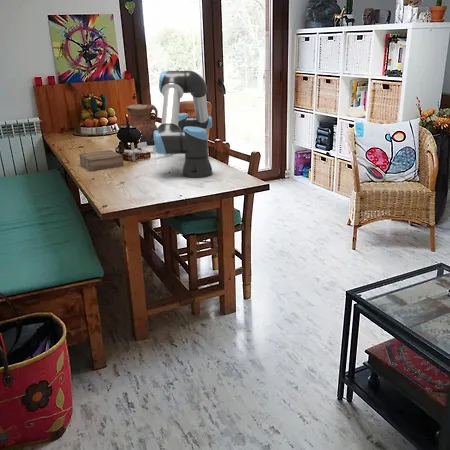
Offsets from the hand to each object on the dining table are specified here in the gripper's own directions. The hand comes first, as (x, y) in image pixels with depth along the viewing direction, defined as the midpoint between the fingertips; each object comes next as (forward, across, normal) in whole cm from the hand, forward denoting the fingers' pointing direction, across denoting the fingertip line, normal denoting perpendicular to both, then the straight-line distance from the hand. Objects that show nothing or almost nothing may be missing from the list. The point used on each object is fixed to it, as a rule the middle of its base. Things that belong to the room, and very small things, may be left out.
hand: (145, 147), depth 270 cm
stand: (+27, +5, -6) cm, 28 cm away
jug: (-25, +34, -6) cm, 43 cm away
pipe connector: (+9, 0, -6) cm, 11 cm away
